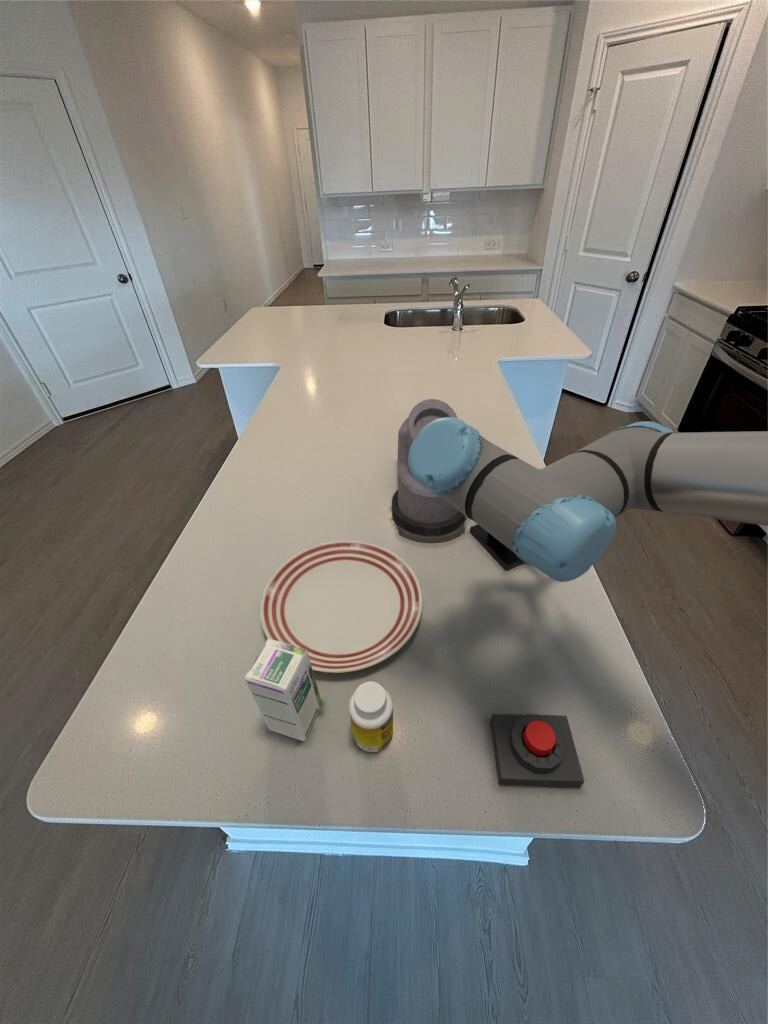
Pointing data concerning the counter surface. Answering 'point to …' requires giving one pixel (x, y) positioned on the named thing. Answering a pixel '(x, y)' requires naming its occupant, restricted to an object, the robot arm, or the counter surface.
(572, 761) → the button block
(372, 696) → the supplement bottle
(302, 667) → the syrup box
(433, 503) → the grey piece
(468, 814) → the counter surface
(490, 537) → the bracket
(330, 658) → the dinner plate
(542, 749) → the button
